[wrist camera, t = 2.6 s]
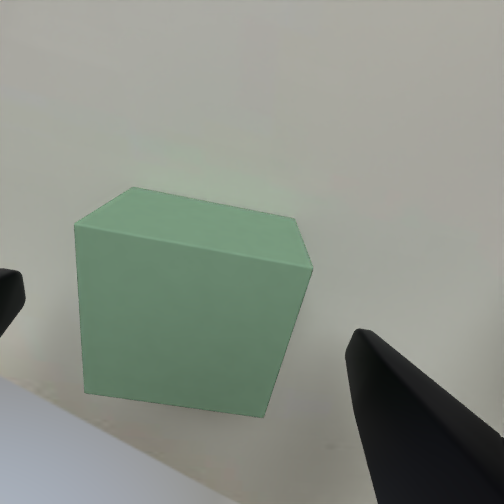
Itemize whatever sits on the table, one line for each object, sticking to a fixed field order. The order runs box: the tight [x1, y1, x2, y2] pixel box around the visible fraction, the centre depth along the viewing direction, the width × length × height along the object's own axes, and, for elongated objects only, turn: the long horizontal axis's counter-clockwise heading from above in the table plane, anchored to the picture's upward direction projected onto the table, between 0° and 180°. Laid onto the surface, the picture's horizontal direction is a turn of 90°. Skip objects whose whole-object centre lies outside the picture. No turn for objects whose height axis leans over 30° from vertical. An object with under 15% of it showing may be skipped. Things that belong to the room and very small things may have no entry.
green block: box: [74, 187, 313, 418], centre depth 9 cm, size 5×5×3 cm
